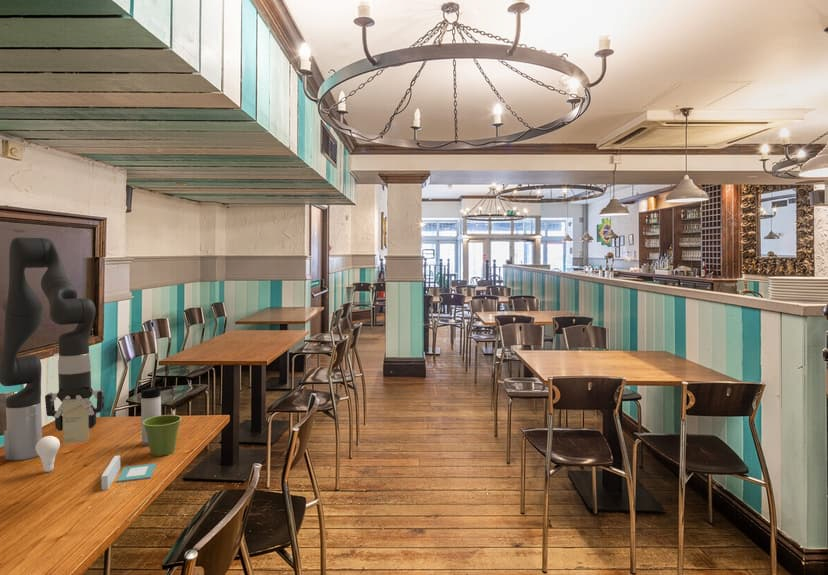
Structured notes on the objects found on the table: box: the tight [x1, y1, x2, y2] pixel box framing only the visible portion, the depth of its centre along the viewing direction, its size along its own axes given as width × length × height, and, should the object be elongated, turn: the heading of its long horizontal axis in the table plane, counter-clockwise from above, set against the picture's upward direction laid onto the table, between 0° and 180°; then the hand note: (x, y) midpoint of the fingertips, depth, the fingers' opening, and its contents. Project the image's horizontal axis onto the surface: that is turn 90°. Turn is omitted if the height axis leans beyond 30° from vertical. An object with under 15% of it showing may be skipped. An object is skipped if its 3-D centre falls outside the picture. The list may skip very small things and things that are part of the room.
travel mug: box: [140, 386, 162, 446], centre depth 181 cm, size 6×7×20 cm
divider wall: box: [100, 455, 121, 491], centre depth 151 cm, size 2×16×4 cm, turn 19°
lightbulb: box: [35, 435, 61, 473], centre depth 155 cm, size 6×6×11 cm
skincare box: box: [62, 398, 90, 445], centre depth 142 cm, size 6×4×12 cm
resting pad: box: [116, 462, 158, 483], centre depth 155 cm, size 9×11×1 cm
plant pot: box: [143, 414, 183, 457], centre depth 171 cm, size 12×12×11 cm
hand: (76, 428), depth 142 cm, fingers closed on skincare box, 7 cm apart
